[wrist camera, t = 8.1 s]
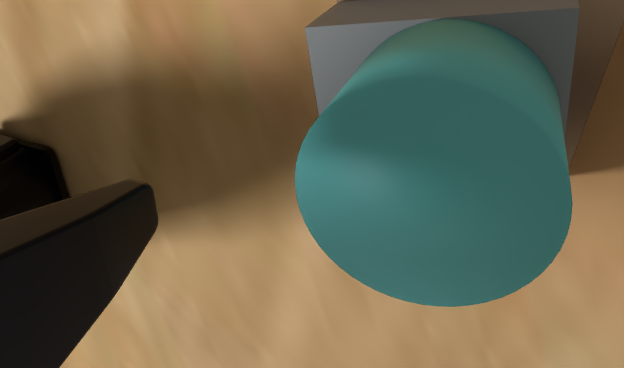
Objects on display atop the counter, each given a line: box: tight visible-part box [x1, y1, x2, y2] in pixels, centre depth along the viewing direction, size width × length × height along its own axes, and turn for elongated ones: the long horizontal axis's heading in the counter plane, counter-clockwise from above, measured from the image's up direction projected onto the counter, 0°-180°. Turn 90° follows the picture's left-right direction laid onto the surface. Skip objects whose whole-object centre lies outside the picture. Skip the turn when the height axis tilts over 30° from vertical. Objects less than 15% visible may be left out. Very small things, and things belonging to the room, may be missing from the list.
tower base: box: [337, 0, 624, 169], centre depth 17 cm, size 8×8×3 cm
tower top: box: [305, 0, 580, 140], centre depth 15 cm, size 6×6×3 cm
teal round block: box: [295, 19, 572, 307], centre depth 12 cm, size 6×6×4 cm
